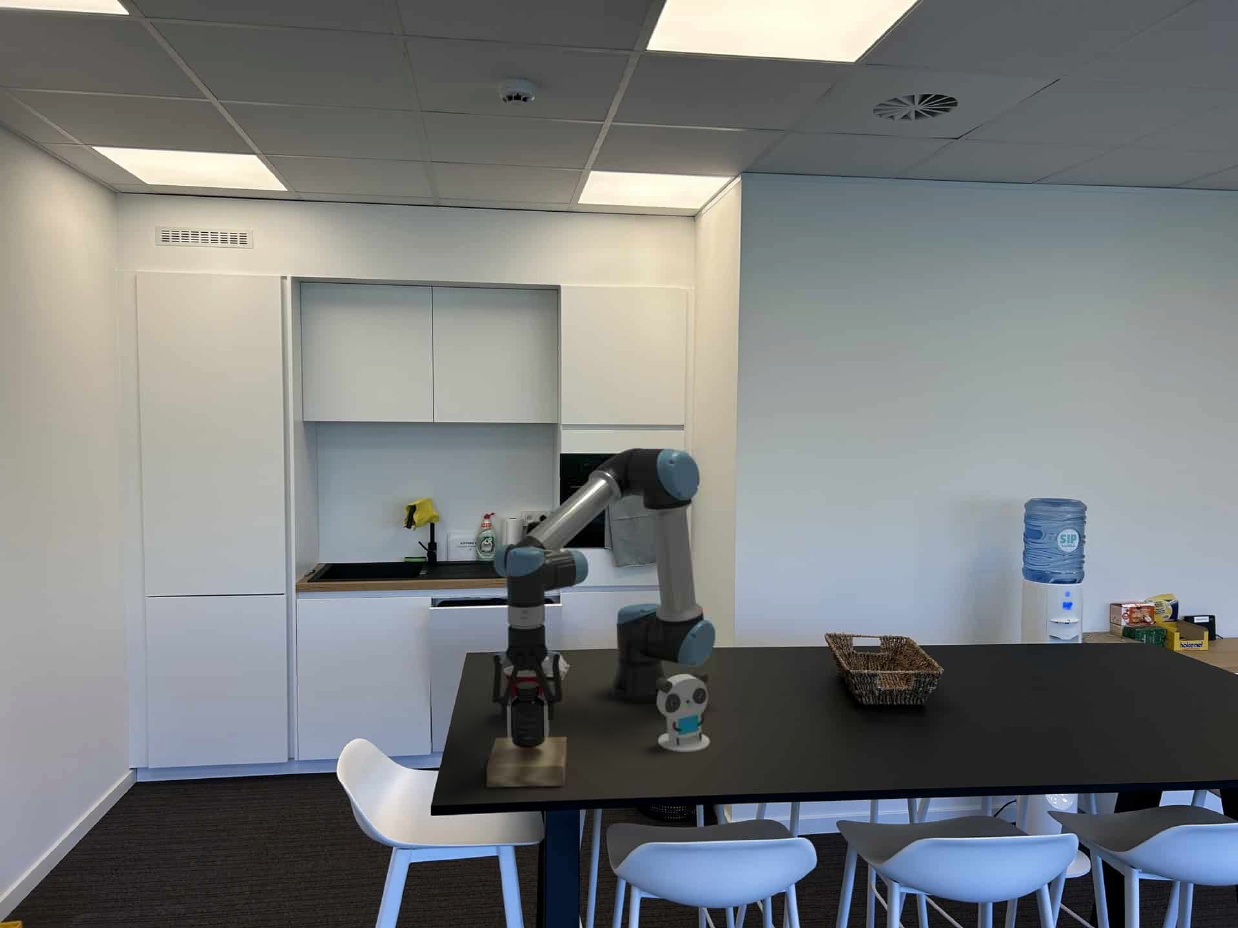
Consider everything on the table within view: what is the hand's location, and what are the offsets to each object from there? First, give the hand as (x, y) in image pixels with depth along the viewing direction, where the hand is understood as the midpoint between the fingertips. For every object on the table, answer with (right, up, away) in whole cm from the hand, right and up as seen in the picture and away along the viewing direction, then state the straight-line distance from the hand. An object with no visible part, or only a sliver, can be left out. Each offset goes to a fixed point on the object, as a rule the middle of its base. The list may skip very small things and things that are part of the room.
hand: (528, 734), depth 179 cm
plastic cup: (-4, -6, +31) cm, 32 cm away
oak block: (0, -7, 0) cm, 7 cm away
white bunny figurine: (-3, -4, +63) cm, 63 cm away
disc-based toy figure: (+33, -6, +15) cm, 37 cm away
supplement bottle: (0, -2, 0) cm, 2 cm away
